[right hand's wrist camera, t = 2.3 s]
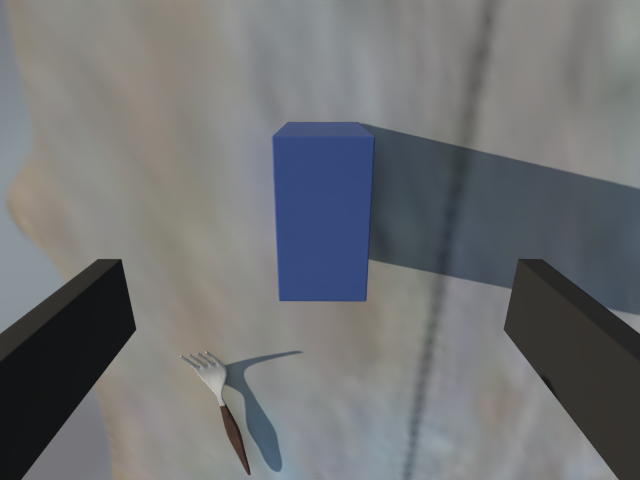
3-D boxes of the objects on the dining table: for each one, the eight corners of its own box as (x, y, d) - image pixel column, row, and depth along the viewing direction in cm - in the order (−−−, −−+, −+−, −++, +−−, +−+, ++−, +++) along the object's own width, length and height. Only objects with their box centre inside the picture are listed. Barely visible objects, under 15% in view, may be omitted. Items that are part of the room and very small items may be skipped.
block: (287, 122, 26) (271, 136, 18) (358, 122, 26) (375, 136, 18) (290, 243, 29) (278, 301, 21) (354, 243, 29) (366, 301, 21)
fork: (238, 471, 38) (233, 491, 36) (185, 341, 32) (177, 357, 30) (263, 468, 37) (260, 488, 36) (215, 336, 32) (208, 351, 30)
